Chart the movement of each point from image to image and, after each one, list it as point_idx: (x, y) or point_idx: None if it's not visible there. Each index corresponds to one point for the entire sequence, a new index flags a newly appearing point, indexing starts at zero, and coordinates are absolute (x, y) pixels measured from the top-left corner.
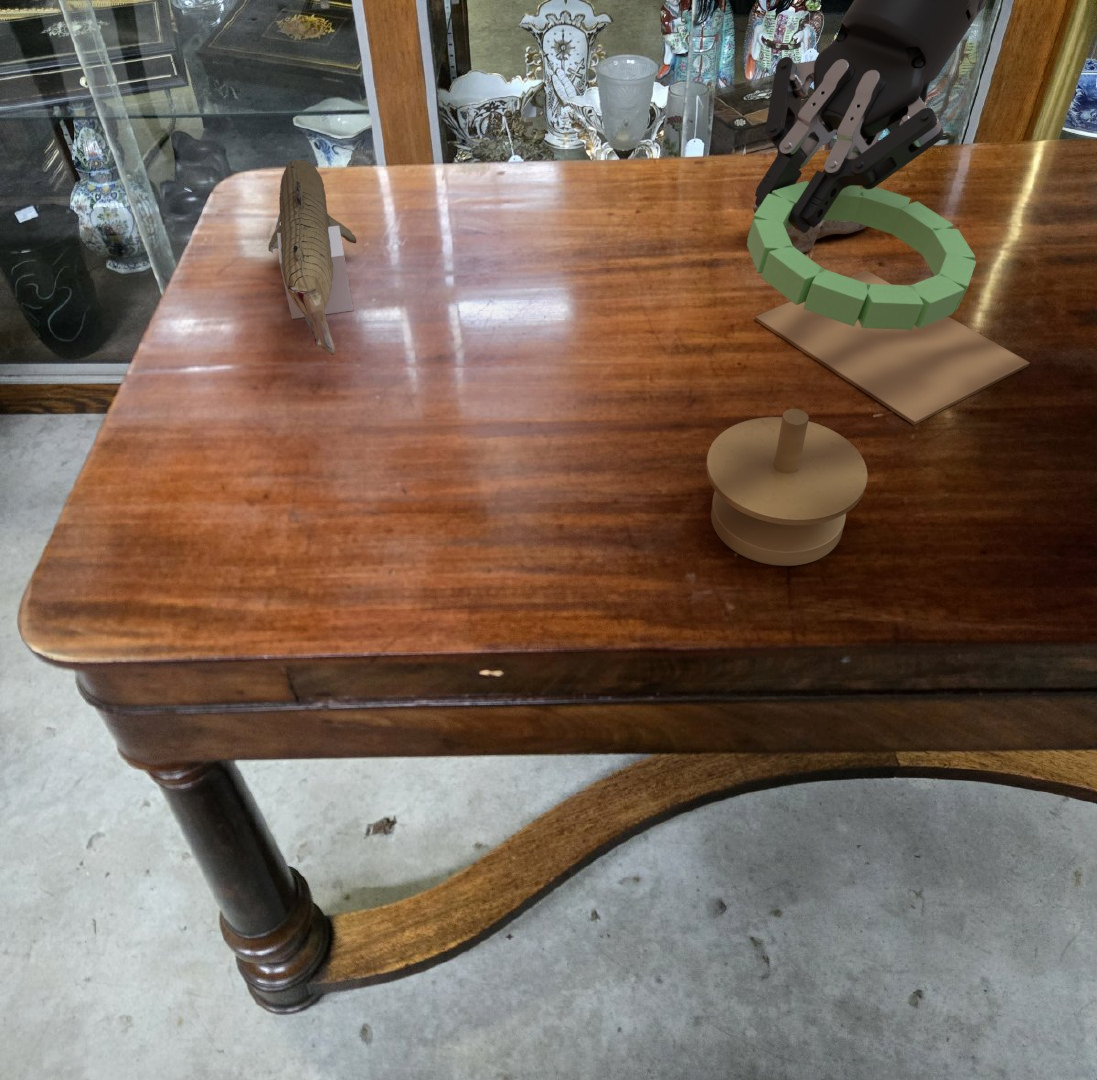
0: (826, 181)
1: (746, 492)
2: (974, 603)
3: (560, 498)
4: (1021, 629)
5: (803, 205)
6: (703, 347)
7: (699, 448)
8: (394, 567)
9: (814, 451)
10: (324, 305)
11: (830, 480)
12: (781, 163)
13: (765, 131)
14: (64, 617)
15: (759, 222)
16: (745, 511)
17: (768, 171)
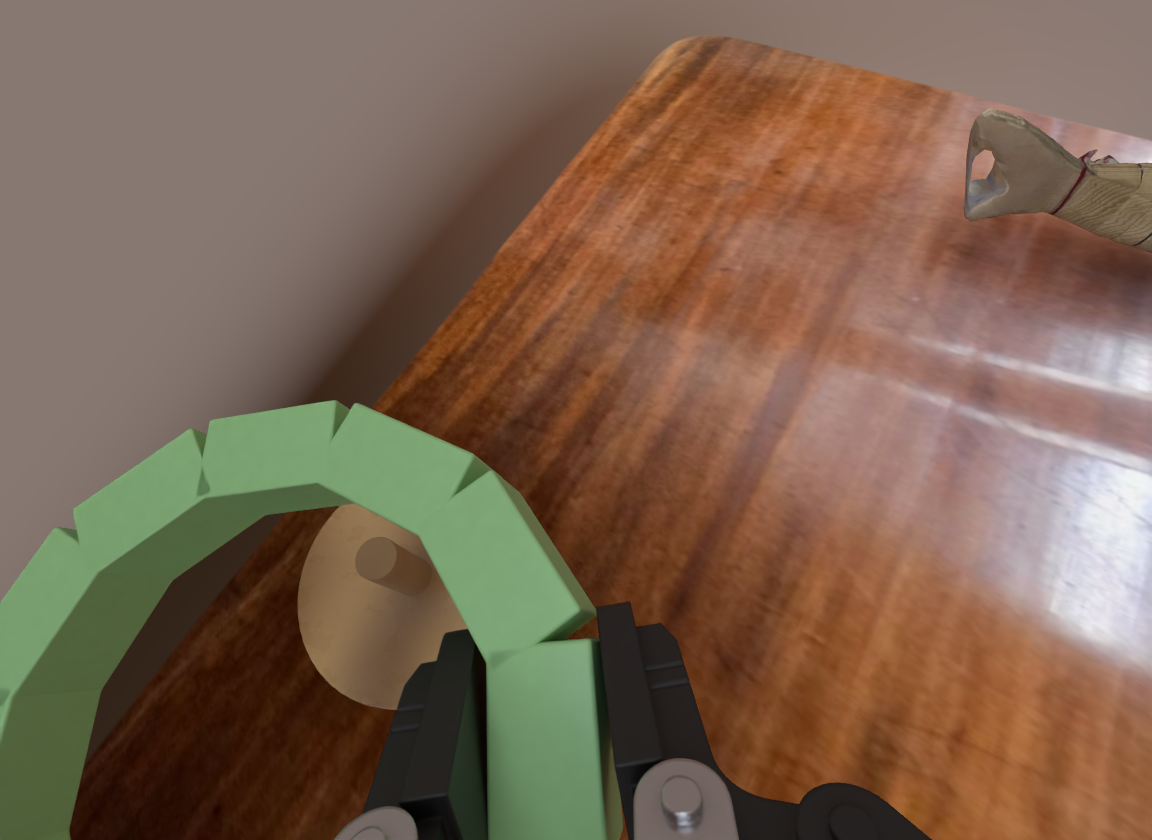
0: (398, 799)
1: None
2: (184, 711)
3: (628, 393)
4: (121, 729)
5: (437, 665)
6: None
7: (620, 597)
8: (623, 231)
9: (407, 636)
10: (1088, 218)
11: (349, 610)
12: (639, 725)
13: (874, 796)
14: (701, 50)
15: (451, 460)
16: None
17: (686, 695)
